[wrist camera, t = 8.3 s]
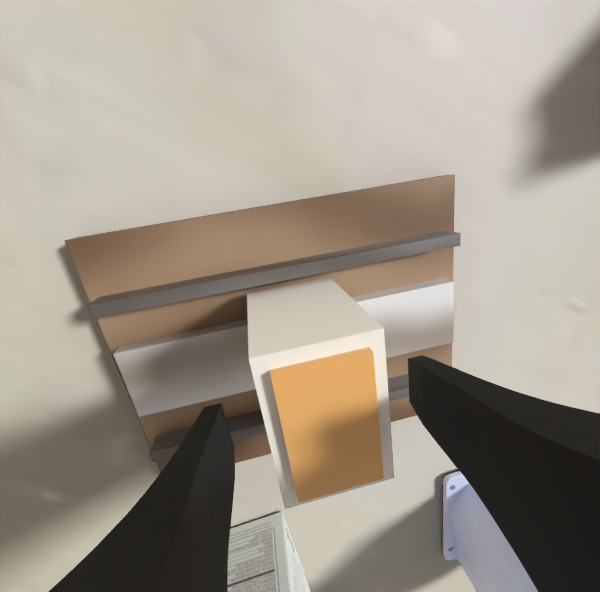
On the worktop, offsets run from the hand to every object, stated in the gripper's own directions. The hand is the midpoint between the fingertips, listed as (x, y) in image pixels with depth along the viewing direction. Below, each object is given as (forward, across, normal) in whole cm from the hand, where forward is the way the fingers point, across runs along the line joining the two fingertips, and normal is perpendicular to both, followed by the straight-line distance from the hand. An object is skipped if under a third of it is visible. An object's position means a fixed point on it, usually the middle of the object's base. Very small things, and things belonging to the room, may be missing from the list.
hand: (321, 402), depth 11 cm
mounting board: (+6, 0, 0) cm, 6 cm away
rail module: (+4, 0, 0) cm, 4 cm away
